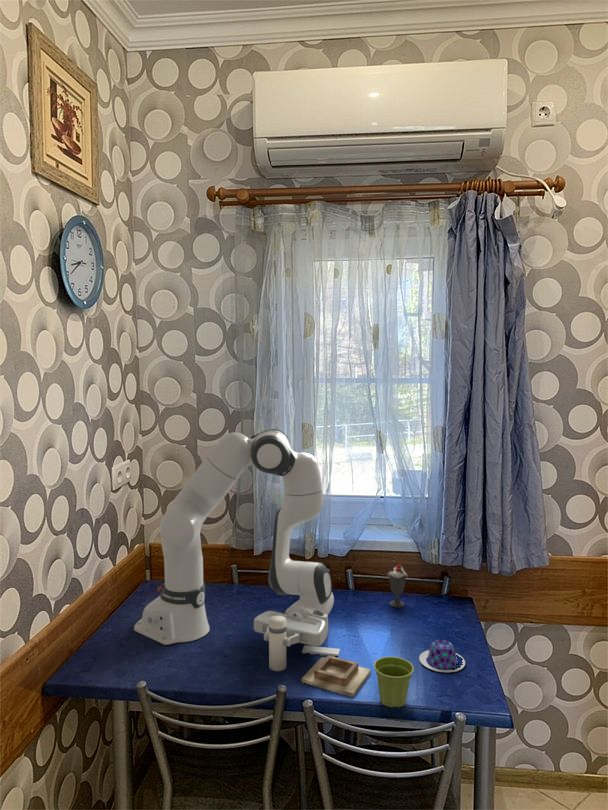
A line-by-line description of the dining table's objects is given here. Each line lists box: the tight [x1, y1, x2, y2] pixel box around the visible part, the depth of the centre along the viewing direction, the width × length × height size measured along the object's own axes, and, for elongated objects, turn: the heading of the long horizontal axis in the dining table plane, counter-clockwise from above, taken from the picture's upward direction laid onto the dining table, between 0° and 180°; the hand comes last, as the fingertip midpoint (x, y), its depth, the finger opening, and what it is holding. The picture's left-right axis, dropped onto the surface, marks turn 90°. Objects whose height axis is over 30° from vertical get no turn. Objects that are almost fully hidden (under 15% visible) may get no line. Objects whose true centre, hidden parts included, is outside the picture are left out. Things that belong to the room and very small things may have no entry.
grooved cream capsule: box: [268, 616, 287, 672], centre depth 162 cm, size 5×5×13 cm
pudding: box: [418, 639, 466, 673], centre depth 165 cm, size 12×12×5 cm
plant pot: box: [373, 656, 415, 708], centre depth 147 cm, size 9×9×9 cm
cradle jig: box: [300, 655, 372, 698], centre depth 158 cm, size 14×12×3 cm
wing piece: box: [301, 644, 341, 657], centre depth 171 cm, size 10×3×1 cm, turn 79°
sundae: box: [386, 561, 409, 608], centre depth 200 cm, size 7×7×15 cm
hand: (276, 640), depth 161 cm, fingers closed on grooved cream capsule, 4 cm apart
